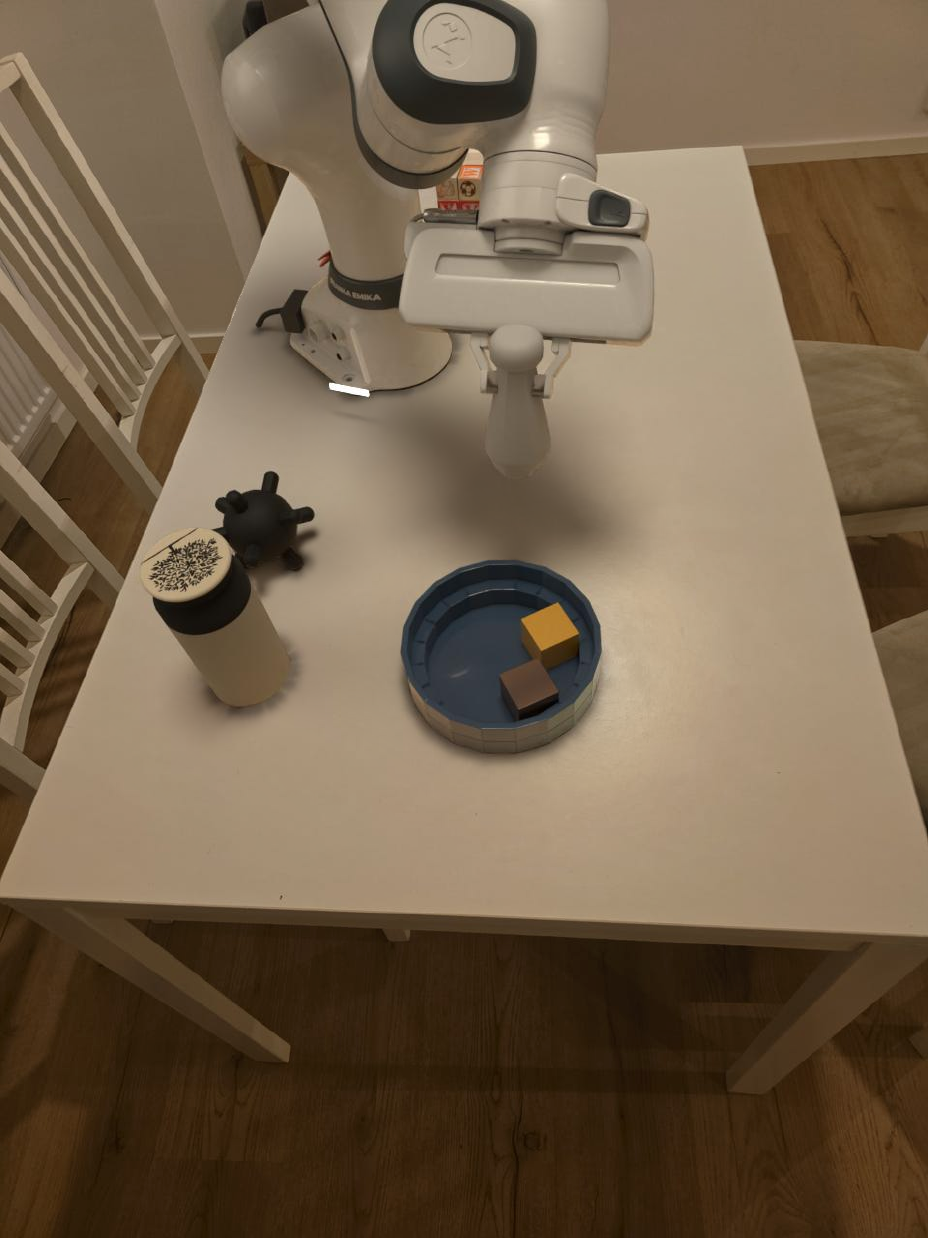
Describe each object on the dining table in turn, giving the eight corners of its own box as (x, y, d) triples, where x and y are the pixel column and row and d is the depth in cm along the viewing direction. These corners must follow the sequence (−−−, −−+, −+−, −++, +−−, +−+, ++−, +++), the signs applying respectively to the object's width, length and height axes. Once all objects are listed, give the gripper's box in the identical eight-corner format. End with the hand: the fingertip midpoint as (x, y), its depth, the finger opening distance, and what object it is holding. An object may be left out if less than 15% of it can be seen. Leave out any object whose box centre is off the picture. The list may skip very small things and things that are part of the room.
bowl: (371, 687, 78) (360, 658, 74) (486, 564, 85) (482, 531, 81) (523, 794, 71) (521, 769, 66) (634, 650, 78) (640, 618, 74)
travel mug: (304, 681, 79) (248, 570, 64) (230, 723, 77) (155, 618, 63) (271, 626, 83) (211, 509, 68) (200, 664, 81) (122, 553, 67)
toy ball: (342, 558, 84) (227, 589, 79) (313, 561, 93) (210, 589, 88) (314, 457, 82) (195, 482, 77) (288, 470, 92) (181, 494, 87)
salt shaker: (563, 460, 72) (569, 328, 62) (523, 494, 70) (522, 363, 60) (512, 434, 75) (511, 304, 65) (472, 467, 72) (463, 336, 62)
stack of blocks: (472, 182, 128) (466, 97, 118) (511, 183, 127) (508, 97, 117) (443, 261, 117) (433, 175, 106) (486, 263, 115) (480, 176, 105)
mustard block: (521, 641, 79) (520, 619, 76) (557, 625, 80) (558, 602, 76) (541, 673, 77) (541, 651, 74) (578, 655, 78) (579, 633, 74)
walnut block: (500, 695, 76) (498, 674, 73) (538, 678, 77) (538, 657, 73) (519, 730, 74) (518, 710, 70) (558, 712, 74) (559, 691, 71)
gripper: (395, 194, 62) (382, 382, 65) (668, 205, 58) (641, 404, 61) (417, 217, 68) (404, 388, 71) (666, 229, 64) (641, 408, 67)
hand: (516, 396), depth 66 cm, fingers closed on salt shaker, 3 cm apart
